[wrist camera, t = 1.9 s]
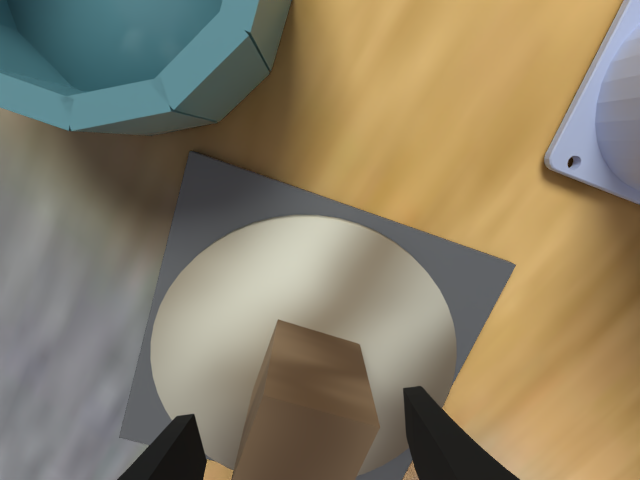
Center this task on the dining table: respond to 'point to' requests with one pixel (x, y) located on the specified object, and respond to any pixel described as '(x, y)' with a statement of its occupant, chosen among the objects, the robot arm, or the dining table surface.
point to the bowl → (135, 60)
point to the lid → (301, 347)
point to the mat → (283, 199)
